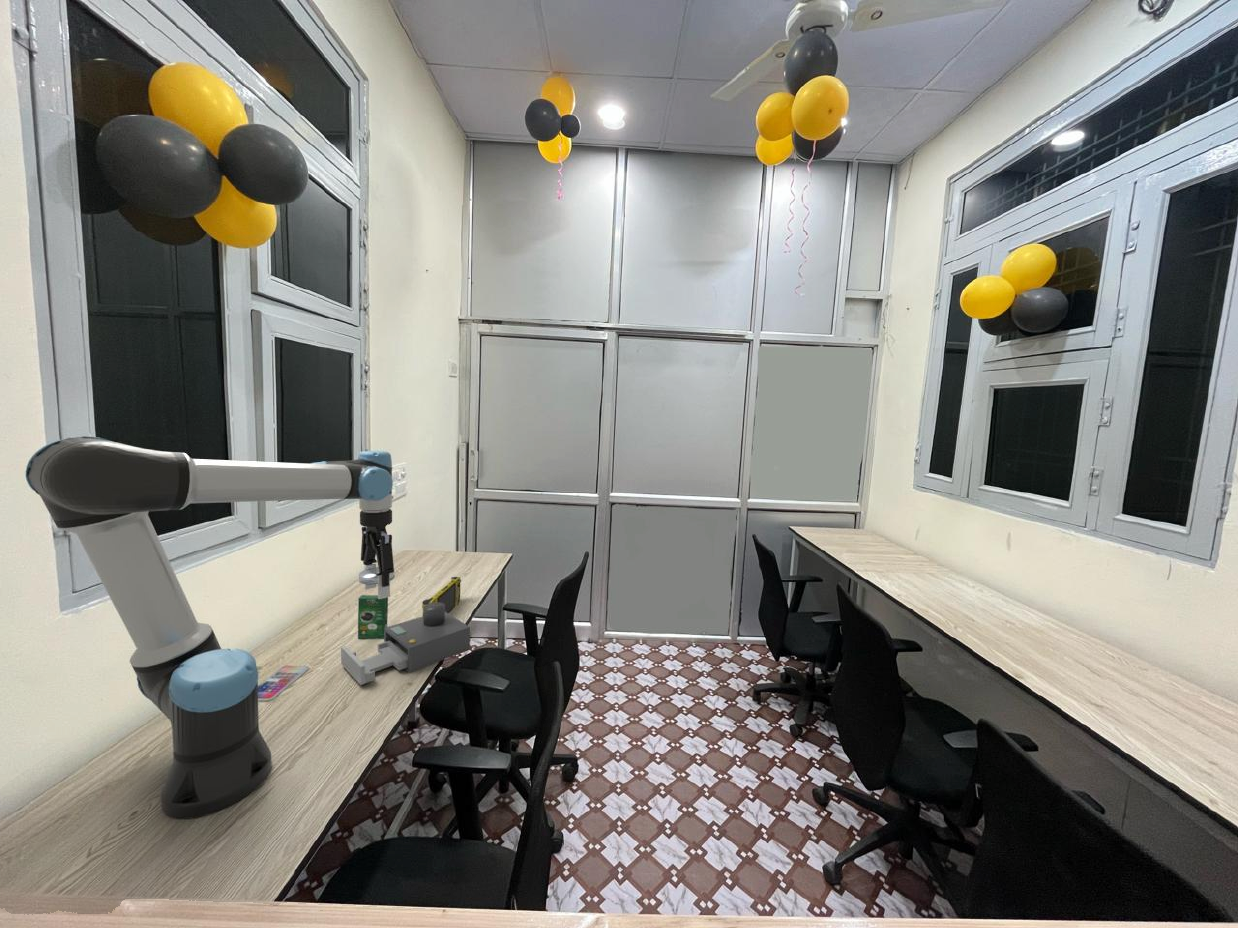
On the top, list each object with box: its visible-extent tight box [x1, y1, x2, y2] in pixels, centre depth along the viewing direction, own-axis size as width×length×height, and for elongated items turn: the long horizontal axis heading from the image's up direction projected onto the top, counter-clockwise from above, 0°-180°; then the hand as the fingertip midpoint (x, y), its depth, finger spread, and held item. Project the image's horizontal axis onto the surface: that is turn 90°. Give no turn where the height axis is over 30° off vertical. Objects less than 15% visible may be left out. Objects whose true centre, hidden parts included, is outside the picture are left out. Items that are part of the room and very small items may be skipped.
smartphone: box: [258, 665, 310, 703], centre depth 114 cm, size 7×1×15 cm
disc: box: [358, 566, 396, 585], centre depth 120 cm, size 8×8×2 cm
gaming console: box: [421, 576, 462, 614], centre depth 156 cm, size 26×4×10 cm, turn 178°
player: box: [383, 602, 471, 674], centre depth 132 cm, size 18×16×12 cm
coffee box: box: [357, 594, 389, 640], centre depth 138 cm, size 8×3×13 cm, turn 99°
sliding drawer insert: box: [340, 640, 408, 686], centre depth 123 cm, size 17×14×5 cm
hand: (377, 592), depth 120 cm, fingers closed on disc, 8 cm apart
